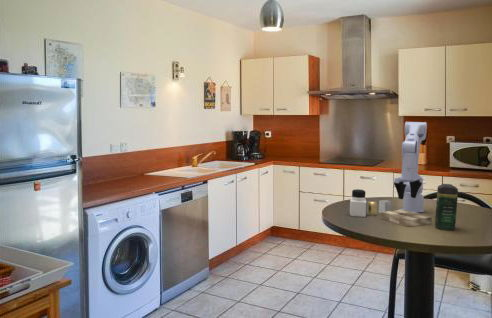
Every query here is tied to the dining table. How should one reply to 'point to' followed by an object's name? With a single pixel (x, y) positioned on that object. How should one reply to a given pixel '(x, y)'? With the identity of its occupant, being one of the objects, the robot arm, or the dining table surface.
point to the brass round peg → (372, 208)
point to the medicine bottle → (358, 203)
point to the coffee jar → (446, 207)
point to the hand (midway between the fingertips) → (407, 198)
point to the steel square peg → (384, 205)
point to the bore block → (406, 218)
